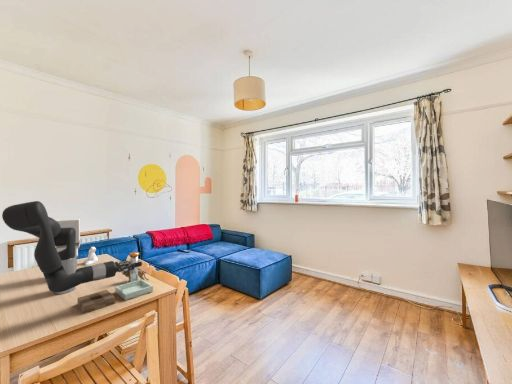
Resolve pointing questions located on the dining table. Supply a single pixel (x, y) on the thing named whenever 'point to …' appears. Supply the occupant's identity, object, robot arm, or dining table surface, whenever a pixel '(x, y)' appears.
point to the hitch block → (96, 301)
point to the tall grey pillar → (76, 226)
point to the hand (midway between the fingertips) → (139, 262)
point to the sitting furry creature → (91, 257)
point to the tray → (133, 289)
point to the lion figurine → (140, 274)
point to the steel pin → (135, 272)
